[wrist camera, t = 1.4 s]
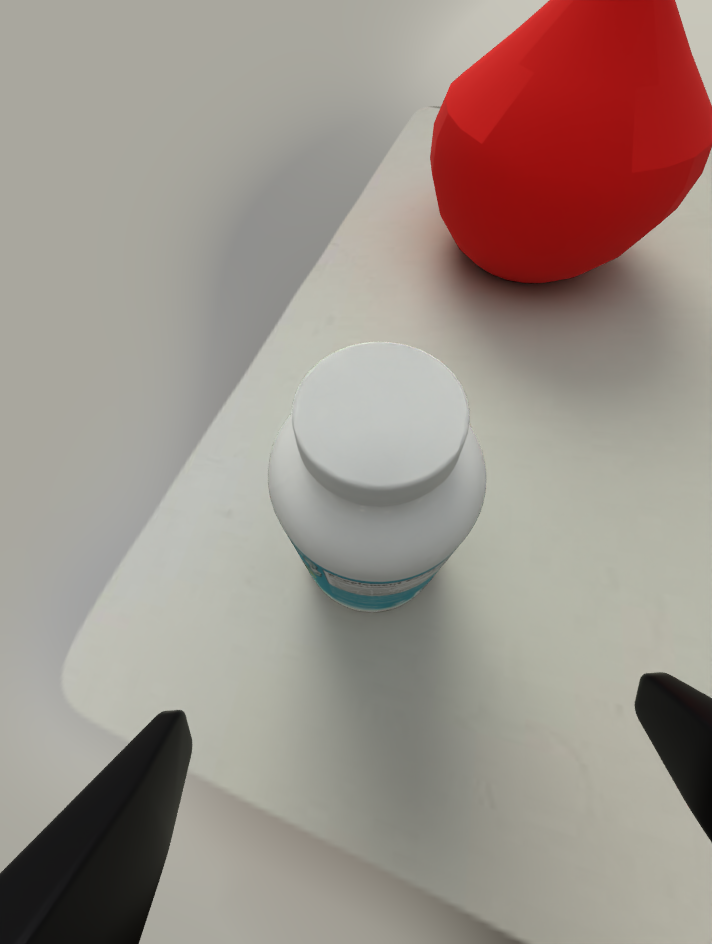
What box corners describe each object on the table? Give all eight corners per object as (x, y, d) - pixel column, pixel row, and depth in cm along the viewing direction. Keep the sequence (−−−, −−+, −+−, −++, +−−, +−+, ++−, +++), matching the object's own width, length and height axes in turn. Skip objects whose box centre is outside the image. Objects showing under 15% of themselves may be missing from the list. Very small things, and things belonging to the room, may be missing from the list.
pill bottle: (313, 485, 24) (264, 300, 12) (432, 490, 24) (507, 307, 11) (298, 611, 20) (207, 534, 8) (437, 620, 20) (550, 552, 8)
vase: (453, 175, 40) (522, -195, 23) (639, 214, 36) (888, -188, 19) (388, 283, 32) (417, -148, 15) (615, 347, 29) (988, -123, 12)
